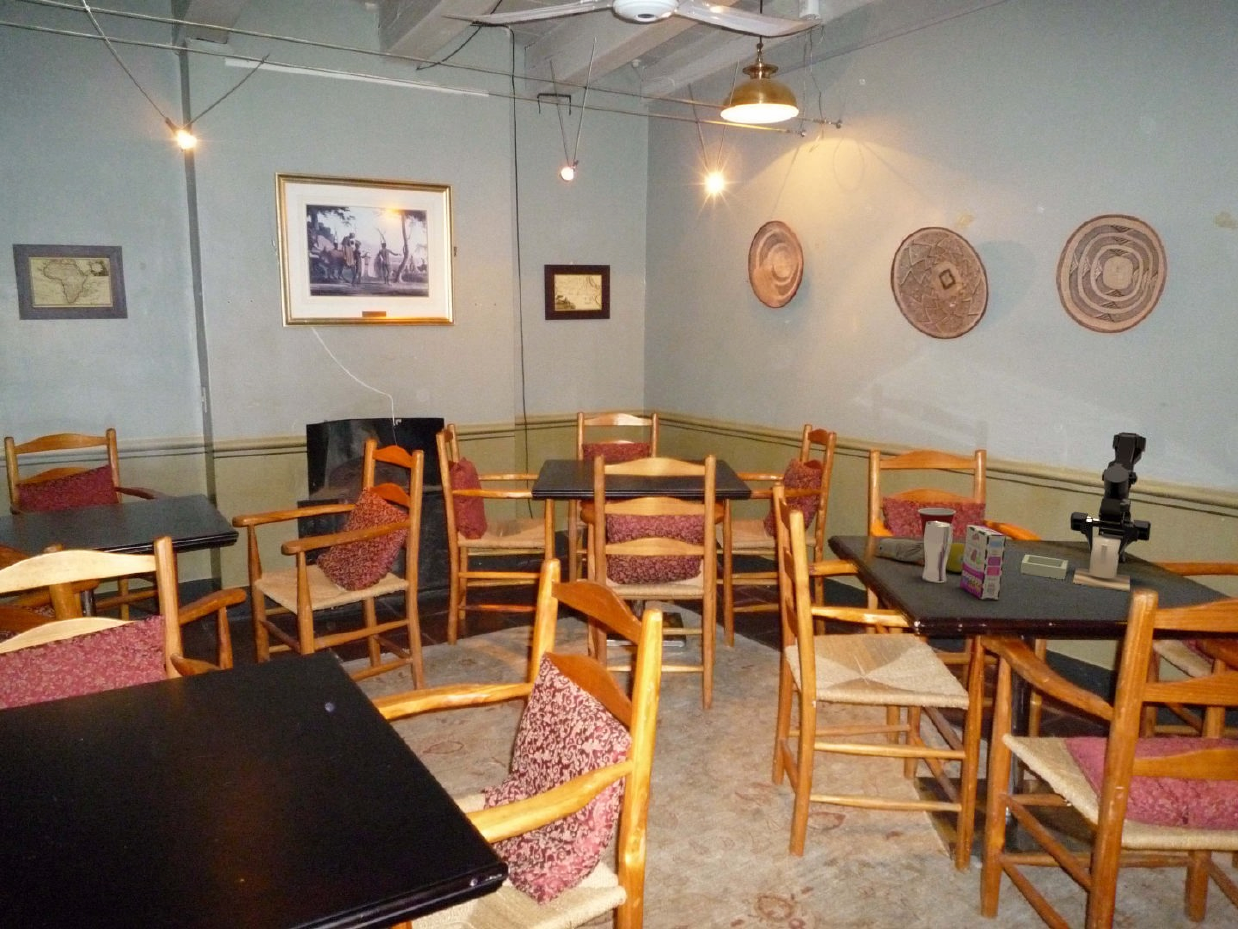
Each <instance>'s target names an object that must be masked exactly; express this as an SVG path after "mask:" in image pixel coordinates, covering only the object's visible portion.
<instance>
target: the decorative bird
mask: <svg viewBox="0 0 1238 929" xmlns="http://www.w3.org/2000/svg"><path fill="white" fill-rule="evenodd" d="M876 553H877V557H878V558H879V557H882V556H883V555H889V556H890V557H892V558H893V559H894V560H898V561H902V562H916V561H917V562H918V561H921V559H922V560H923V561H924V562H925V556H924V541H923V540H914V539H913V540H912V539H904V538H903V539H901V538H898V539H895V538H890V537H889V538H888V537H886V538H883V539H881V540H880V541H879V543H878V544H877V552H876Z"/></svg>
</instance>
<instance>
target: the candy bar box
mask: <svg viewBox="0 0 1238 929" xmlns="http://www.w3.org/2000/svg"><path fill="white" fill-rule="evenodd" d="M965 530H966V531H965V541H964V544H965V547H964V557H963V566H962V572H961V577H960V578H961V579H960V587H961V588H962V589H963V590H964V591H966V592H968V593H969V594H971V595H973V596H975V597H976V598H978V599H980V600H983V601H985V600H986V601H999V600H1000V594H1001V593H1000V592H1001V586H1002V585H1001V584H1002V574H1003V565H1004V558H1005V548H1006V539H1007V535H1006V534H1004V533H1001V532H999V531H996V530H994V529H992V528H990V527H989V526H985V525H980V524H979V525H975V524H974V525H972V524H971V525H970V524H967V525H966V529H965Z"/></svg>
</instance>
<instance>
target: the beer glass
mask: <svg viewBox="0 0 1238 929" xmlns="http://www.w3.org/2000/svg"><path fill="white" fill-rule="evenodd" d="M952 543H953V524H952V523H951V524H950V523H946V522H939V521H929V522H926V527H925V533H924V559H925V561H924V569H923V572H922V577H921V579H923V581H926V582H931V583H937V584H940V583H941V584H942V583H946V582H947V569H946V565H947V561H948V557H949V554H950V550H951V546H952Z"/></svg>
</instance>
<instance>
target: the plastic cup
mask: <svg viewBox="0 0 1238 929" xmlns="http://www.w3.org/2000/svg"><path fill="white" fill-rule="evenodd" d="M917 512H918V514H919V518H920V522H921V531H922V537H923V538H922V539H923V540H922V541H924V533H925V527H926V522H929V521H939V522H946V523H950V524H952V523H953V520H954V516H955V514H956V513H957V512H956V510H954V509H950V508H943V507H942V508H941V507H927V508H926V507H925V508H921V509H918V510H917Z"/></svg>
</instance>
